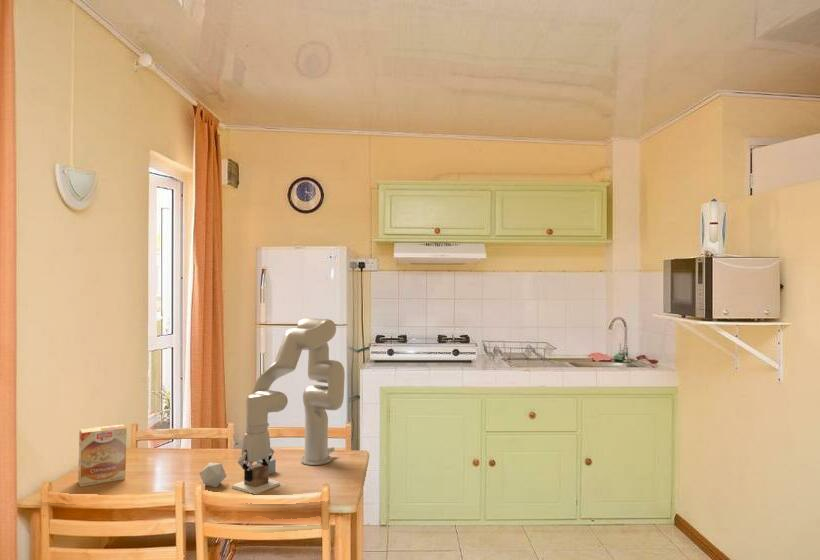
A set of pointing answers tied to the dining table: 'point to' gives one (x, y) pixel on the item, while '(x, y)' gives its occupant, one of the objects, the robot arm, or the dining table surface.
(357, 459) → the dining table surface
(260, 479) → the walnut block
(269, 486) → the plate
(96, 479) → the coffeecake box
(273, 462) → the blue block
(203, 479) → the die
